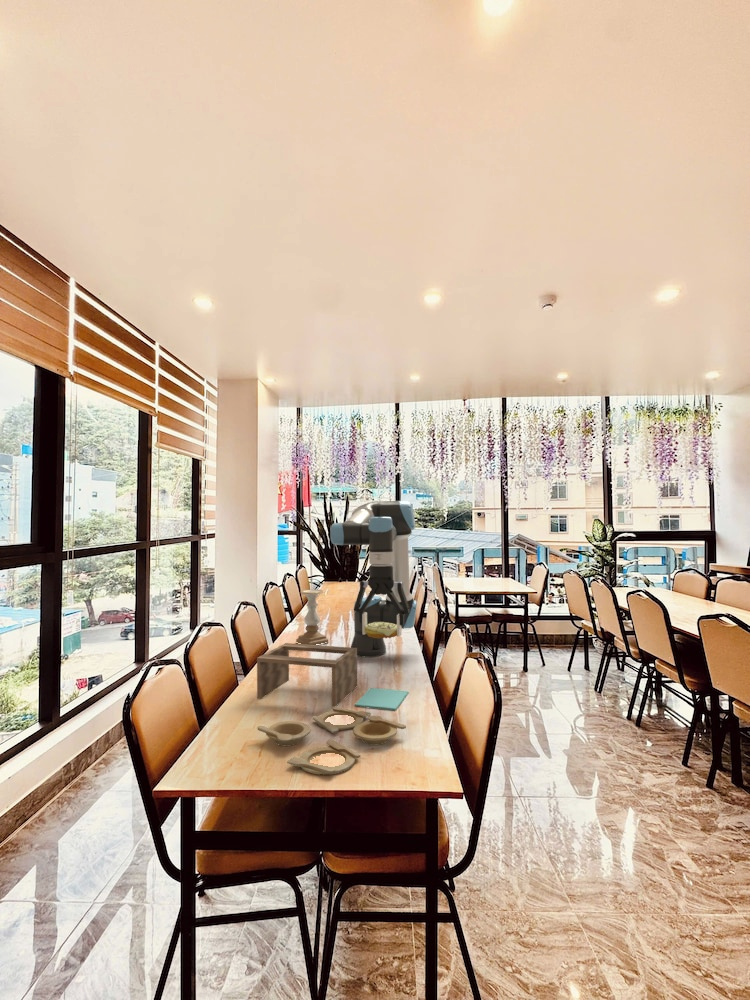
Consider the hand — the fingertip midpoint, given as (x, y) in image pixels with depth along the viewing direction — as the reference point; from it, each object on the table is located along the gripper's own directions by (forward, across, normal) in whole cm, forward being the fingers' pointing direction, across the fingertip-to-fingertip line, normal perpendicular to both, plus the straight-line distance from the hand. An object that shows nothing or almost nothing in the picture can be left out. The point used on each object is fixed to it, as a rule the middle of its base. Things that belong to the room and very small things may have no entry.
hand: (381, 634), depth 166 cm
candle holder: (+20, -52, +62) cm, 84 cm away
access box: (+20, -26, 0) cm, 33 cm away
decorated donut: (+1, 0, 0) cm, 1 cm away
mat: (+20, 0, 0) cm, 20 cm away
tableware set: (+21, -4, -32) cm, 38 cm away
